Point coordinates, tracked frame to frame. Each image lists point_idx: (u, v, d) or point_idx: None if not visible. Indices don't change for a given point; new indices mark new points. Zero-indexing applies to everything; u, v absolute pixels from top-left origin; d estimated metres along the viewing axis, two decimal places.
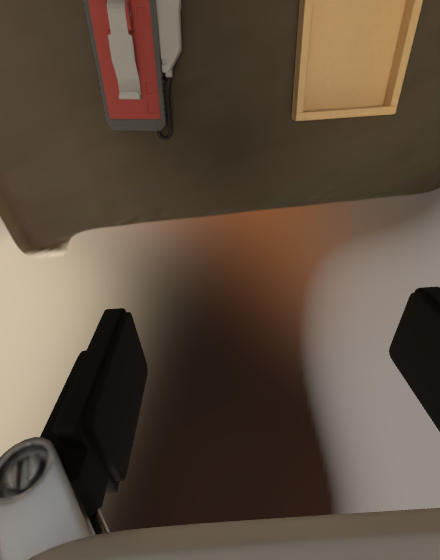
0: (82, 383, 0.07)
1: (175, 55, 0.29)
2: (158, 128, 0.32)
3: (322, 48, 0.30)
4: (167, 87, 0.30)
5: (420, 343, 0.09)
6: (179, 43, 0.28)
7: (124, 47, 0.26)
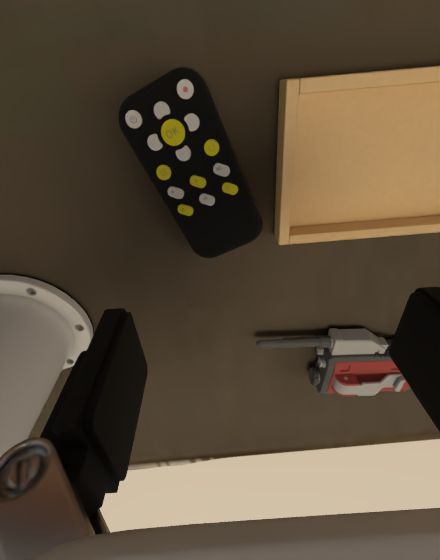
0: (82, 383, 0.07)
1: (375, 344, 0.30)
2: None
3: (410, 195, 0.23)
4: None
5: (420, 343, 0.09)
6: (367, 341, 0.30)
7: (369, 388, 0.31)
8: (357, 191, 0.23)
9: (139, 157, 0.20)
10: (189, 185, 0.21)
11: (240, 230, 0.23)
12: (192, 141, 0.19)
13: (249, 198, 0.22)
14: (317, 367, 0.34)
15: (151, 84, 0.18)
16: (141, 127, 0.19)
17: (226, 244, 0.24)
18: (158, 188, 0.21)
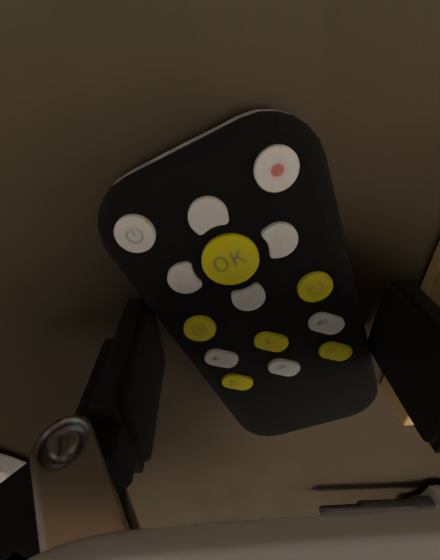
0: (113, 366, 0.07)
1: None
2: None
3: None
4: None
5: (393, 334, 0.09)
6: None
7: None
8: None
9: (146, 300, 0.09)
10: (251, 347, 0.10)
11: (337, 405, 0.12)
12: (272, 275, 0.08)
13: (368, 361, 0.11)
14: None
15: (184, 153, 0.07)
16: (153, 248, 0.08)
17: (306, 422, 0.13)
18: (185, 349, 0.10)
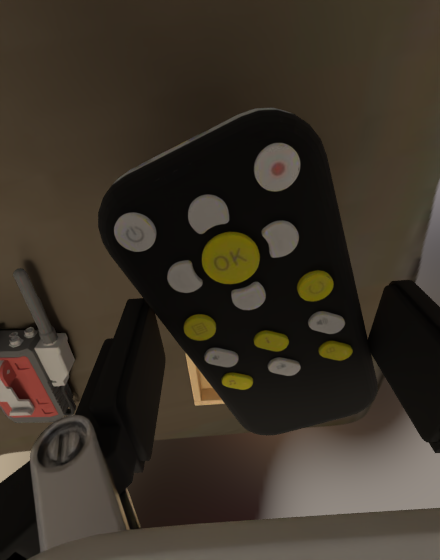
0: (113, 366, 0.07)
1: (63, 378, 0.29)
2: (57, 419, 0.32)
3: None
4: (63, 389, 0.31)
5: (393, 334, 0.09)
6: (66, 371, 0.29)
7: (5, 395, 0.27)
8: None
9: (146, 299, 0.09)
10: (251, 346, 0.10)
11: (337, 405, 0.12)
12: (272, 274, 0.08)
13: (367, 361, 0.11)
14: None
15: (184, 151, 0.07)
16: (154, 247, 0.08)
17: (305, 421, 0.13)
18: (185, 348, 0.10)
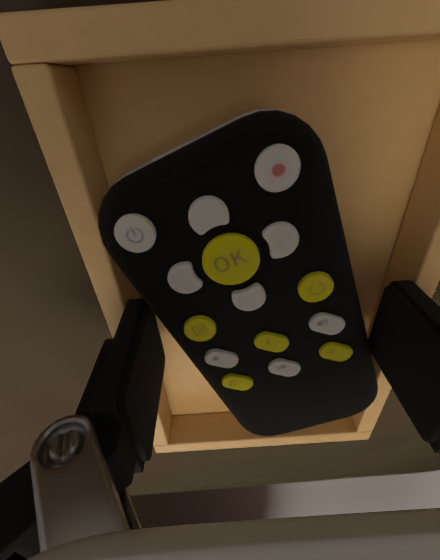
0: (113, 366, 0.07)
1: None
2: None
3: None
4: None
5: (393, 334, 0.09)
6: None
7: None
8: None
9: (146, 300, 0.09)
10: (252, 347, 0.10)
11: (337, 405, 0.12)
12: (273, 275, 0.08)
13: (368, 362, 0.11)
14: None
15: (184, 152, 0.07)
16: (154, 248, 0.08)
17: (306, 422, 0.13)
18: (185, 349, 0.10)
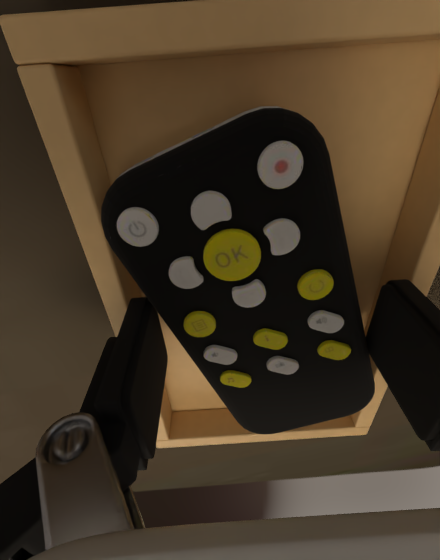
0: (117, 364, 0.07)
1: None
2: None
3: None
4: None
5: (390, 333, 0.09)
6: None
7: None
8: None
9: (147, 295, 0.09)
10: (251, 344, 0.10)
11: (335, 404, 0.12)
12: (273, 272, 0.08)
13: (366, 361, 0.11)
14: None
15: (188, 147, 0.07)
16: (156, 242, 0.08)
17: (303, 421, 0.13)
18: (184, 345, 0.10)
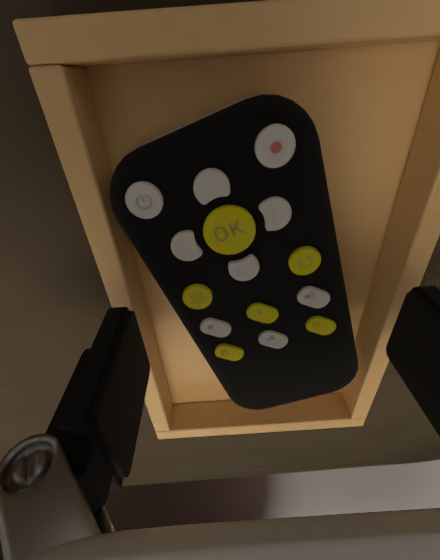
0: (87, 380, 0.07)
1: None
2: None
3: None
4: None
5: (416, 342, 0.09)
6: None
7: None
8: None
9: (149, 267, 0.09)
10: (244, 317, 0.11)
11: (321, 380, 0.13)
12: (266, 247, 0.09)
13: (350, 338, 0.12)
14: None
15: (193, 127, 0.07)
16: (160, 216, 0.08)
17: (291, 396, 0.13)
18: (182, 318, 0.11)
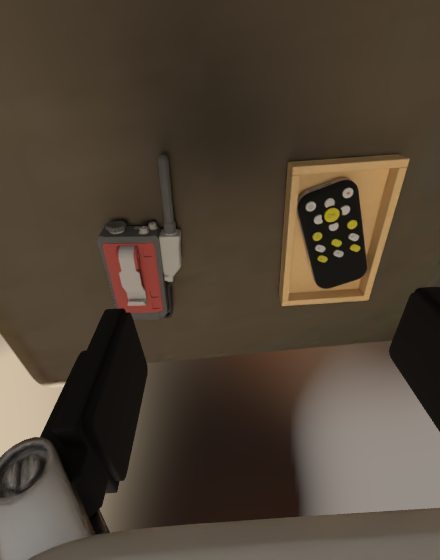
0: (82, 383, 0.07)
1: (176, 271, 0.33)
2: (161, 316, 0.36)
3: (304, 255, 0.35)
4: (169, 286, 0.35)
5: (420, 343, 0.09)
6: (179, 263, 0.33)
7: (132, 279, 0.31)
8: None
9: (304, 226, 0.31)
10: (330, 244, 0.32)
11: (353, 273, 0.34)
12: (341, 220, 0.30)
13: (364, 254, 0.33)
14: (125, 228, 0.32)
15: (326, 188, 0.29)
16: (313, 210, 0.30)
17: (341, 281, 0.35)
18: (309, 245, 0.32)
